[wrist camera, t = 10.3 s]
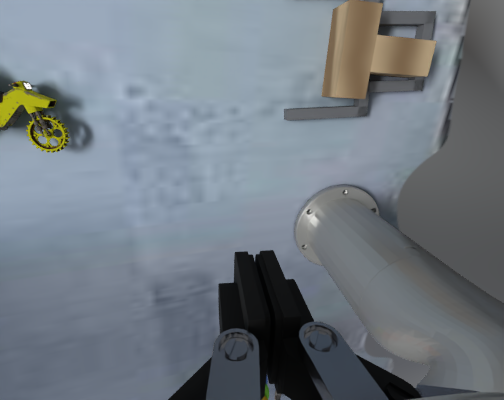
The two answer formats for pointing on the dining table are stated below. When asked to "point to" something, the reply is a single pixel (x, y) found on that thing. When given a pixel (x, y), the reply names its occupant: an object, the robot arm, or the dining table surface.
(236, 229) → the dining table surface
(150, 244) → the dining table surface
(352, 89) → the oak t block
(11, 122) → the toy motorcycle
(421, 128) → the dining table surface
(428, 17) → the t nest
